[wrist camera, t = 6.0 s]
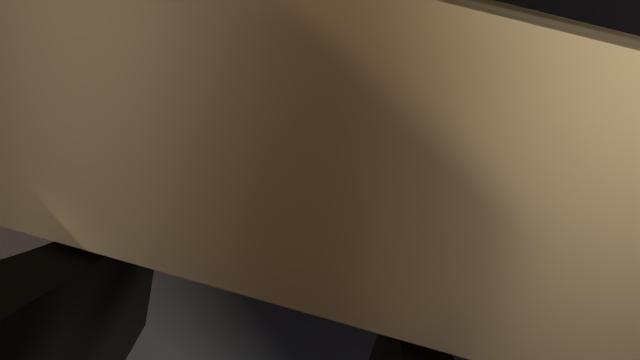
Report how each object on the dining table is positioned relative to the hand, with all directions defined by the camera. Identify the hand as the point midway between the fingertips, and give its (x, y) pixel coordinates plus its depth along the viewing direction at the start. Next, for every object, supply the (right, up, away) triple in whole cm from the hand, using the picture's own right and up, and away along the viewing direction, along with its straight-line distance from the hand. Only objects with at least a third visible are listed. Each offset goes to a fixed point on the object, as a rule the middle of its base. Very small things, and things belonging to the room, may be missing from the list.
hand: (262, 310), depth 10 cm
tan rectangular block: (+2, +4, +1) cm, 5 cm away
